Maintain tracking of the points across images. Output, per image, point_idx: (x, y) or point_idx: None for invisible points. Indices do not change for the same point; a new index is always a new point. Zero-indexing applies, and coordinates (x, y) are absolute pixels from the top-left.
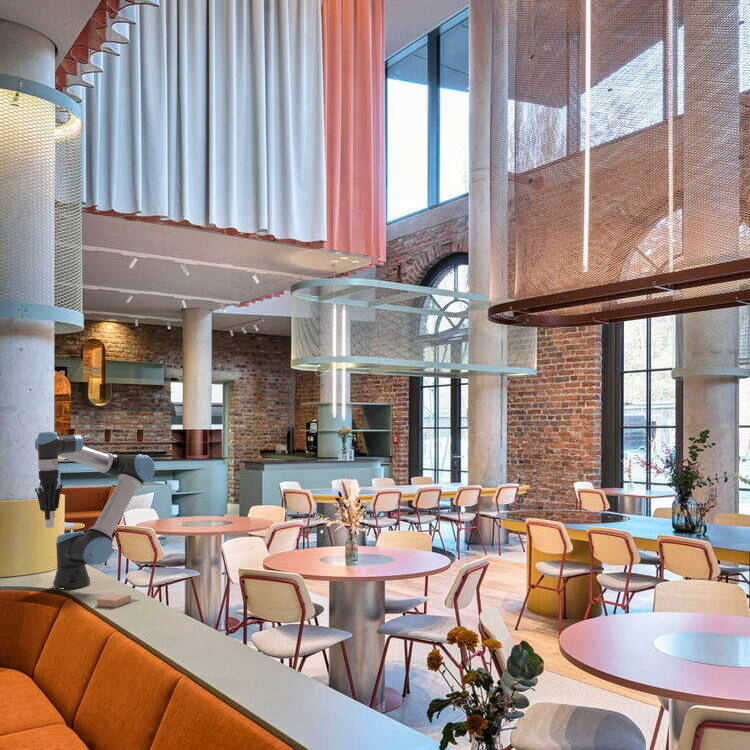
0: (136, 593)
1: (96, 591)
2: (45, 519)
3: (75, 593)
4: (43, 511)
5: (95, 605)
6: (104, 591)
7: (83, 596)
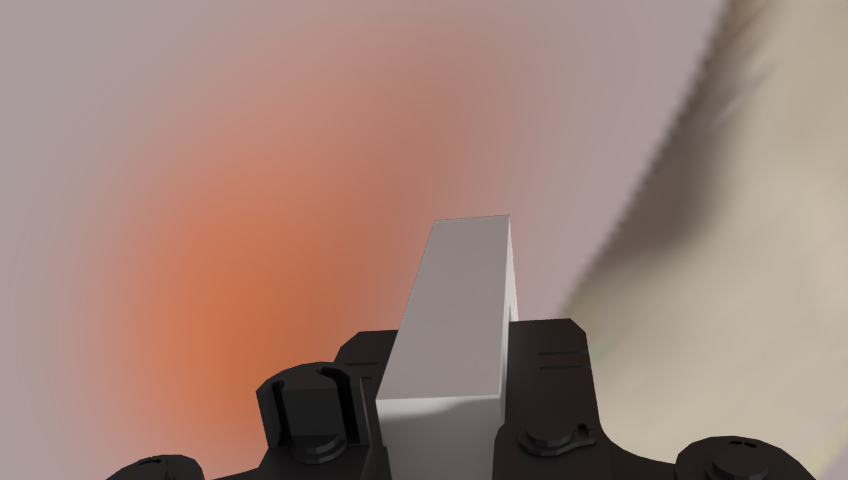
0: (812, 473)
1: (805, 190)
2: (359, 336)
3: (713, 82)
4: (301, 384)
5: None
6: (817, 245)
7: (655, 210)
